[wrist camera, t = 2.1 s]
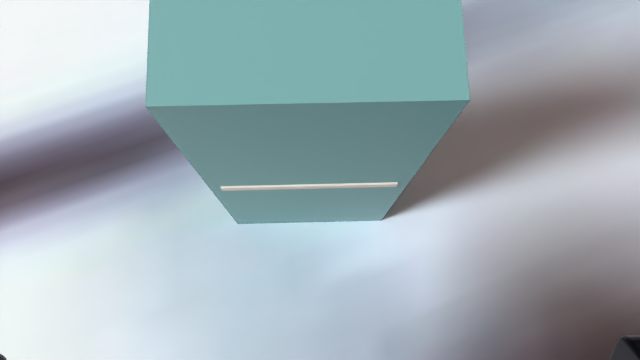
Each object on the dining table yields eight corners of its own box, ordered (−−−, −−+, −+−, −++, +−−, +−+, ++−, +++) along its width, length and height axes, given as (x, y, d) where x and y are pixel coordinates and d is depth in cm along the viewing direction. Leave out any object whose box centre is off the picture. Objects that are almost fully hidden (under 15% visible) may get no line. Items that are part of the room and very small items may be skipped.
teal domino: (381, 221, 21) (470, 103, 9) (237, 225, 21) (145, 109, 9) (378, 163, 22) (459, -20, 10) (237, 166, 21) (150, -15, 10)
